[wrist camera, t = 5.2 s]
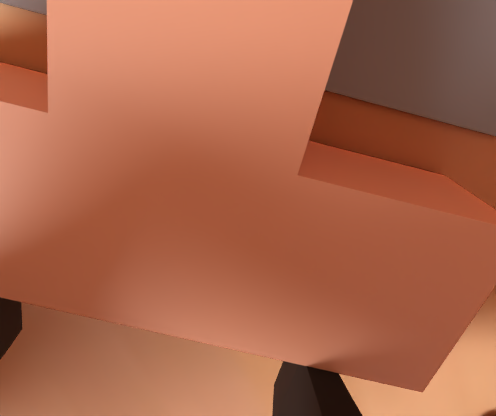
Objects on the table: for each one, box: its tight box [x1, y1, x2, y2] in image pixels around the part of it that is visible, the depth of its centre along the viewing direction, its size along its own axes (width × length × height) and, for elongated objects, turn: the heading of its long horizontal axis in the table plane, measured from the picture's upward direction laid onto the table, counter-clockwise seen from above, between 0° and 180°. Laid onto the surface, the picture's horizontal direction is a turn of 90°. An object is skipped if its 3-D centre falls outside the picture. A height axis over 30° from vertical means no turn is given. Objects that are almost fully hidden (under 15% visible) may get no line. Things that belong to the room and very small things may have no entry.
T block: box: [0, 0, 496, 392], centre depth 6 cm, size 11×12×3 cm
